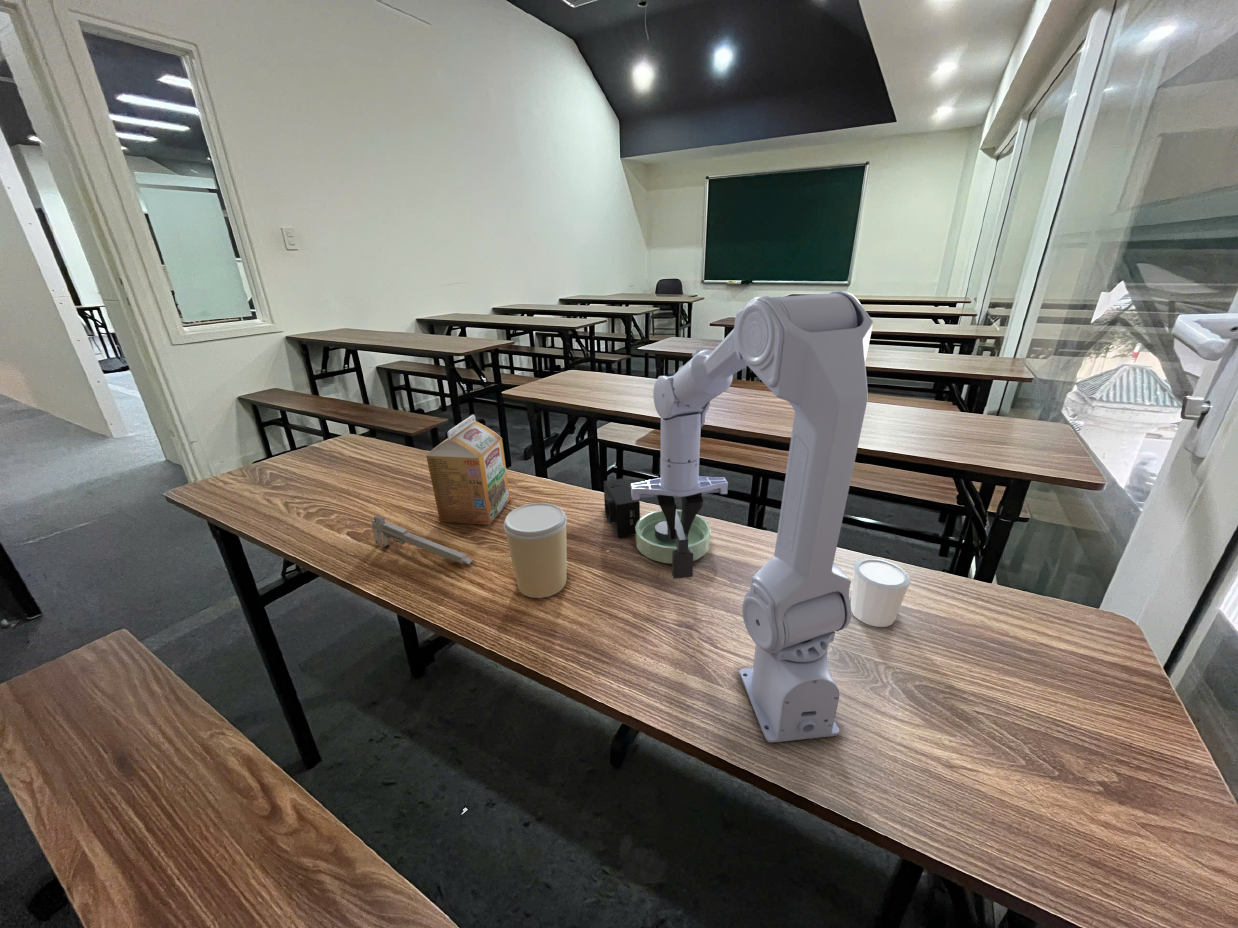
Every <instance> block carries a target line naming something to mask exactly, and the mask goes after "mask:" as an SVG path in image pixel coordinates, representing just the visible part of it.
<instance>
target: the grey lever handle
mask: <svg viewBox="0 0 1238 928" xmlns="http://www.w3.org/2000/svg"><path fill="white" fill-rule="evenodd" d="M655 537H656V538H657V539H658V540H659V541H662V542H668V543H671V542H675V544H676V547H677V549H678V550H673V551H672V564H671V575H672V578H673V579H685V578H693V577H694V573H693V572H694V571H693V570H694V561H693V551H692V549H688V537H687V535H686V533H685V530H684V528H683V525H682V523H681V520H680V518H679V516H678V513H677V511H676V515H675V539H670V536H669V533H668V526H667V521H662V522H659V523H658V524H656V526H655Z"/></svg>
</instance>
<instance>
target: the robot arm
mask: <svg viewBox="0 0 1238 928" xmlns="http://www.w3.org/2000/svg"><path fill="white" fill-rule="evenodd" d="M733 325H734V326H733V329H732V330H731V331H730V332H729V333H728V334H727V336H726V337H724V338H723V339H722V340H721V342H720V343H719V344H718V345H717V346H716V347H715V348H714V349H708V348H707V349H706V348H703V349H696V350H694V351H693V352H692V354H691V355H692V357H691V359H690V360H688V361H687V362H686V363H685V364H684V365H681V366H679V367H678V369H677V370H678V371H676V372H675V373H674V374H673V375H670V376H667V375H659V376H658V377H657V379H656V381H655V382H654V385H653V392H652V393H653V394H652V395H653V396H652V397H653V403H654V407H655V410H656V412H657V414H658V416H659V417H660V455H659V456H660V460H659V461H660V470H659V471H660V475H659V476H660V477H657V478H653V479H648V480H645V481H639V482H632V483H630V488H631V496H632V500H639V501H640V498H641V499H642V498H655V497H656V499H657V503H658V506H659V507H660V510H662V511H663V513H664V515H665V517H666V521H667V526H668V533H669V536H670V539H675V515H676V510H677V508H678V507H677V504H676V501H675V499H676V498H675V497H678V498H679V497H680V500H681V501H680V502H681V503H680V504H681V510H682V514H681V523H682V525H683V528H684V530H685V533H686V535H687V537H688V534H689V530H690V527H691V525H692V522H693V520H694V518H695V516H696V515H698V513H699V511H700V510H701V509H702V508H703V506H704V498H703V496H702V495H703V494H713V493H714V494H715V493H719V494H720V495H728V487H729V486H728V485H729V482H728V480H727V479H726V477H725V476H722V477H718V476H717V477H714V476H701V475H700V452H701V451H700V450H701V429H702V427H703V426H704V425H705V423H706V414H707V412H708V410H709V409H710V405H711V401H713V400H714V399H716V398H717V397H718V396H720V395H721V394H724V393H725V392H726V391H727V390H728V389H729V388H730V386H732V382H733V379H734V375H735V374H736V373H738V372H740V371H742V370H743V369H745V368H746V367H748V368H749V369H750V370H751V371H752V372H753V373H754V374H755V375H756V377H757V378H759V380H760V381H761V382H762V383H763V384H764V385H765V386H766V387H767V389H769V391H770V392H772V394H773V395H774V396H775V397H776V398H777V399H781V400H784V401H786V402H788V403H789V404H790V406H791V408H792V409H793V411H794V416H793V423H792V429H791V435H790V436H791V437H790V443H789V449H788V457H787V463H786V471H785V478H784V484H783V491H782V498H781V506H780V511H779V512H780V513H779V519H778V526H777V532H776V533H777V534H776V540H775V546H774V547H775V548H774V554H773V556H772V557H771V558H770V559H769V560H768V561H767V562H766V563H765V564H764V565H763V566H762V567H761V568H760V569H759V570H758V571H756V572H755V574H754V575H753V576H752V578H751V582H750V583H751V584H750V588H749V590H748V591H747V593H746V594H745V595H744V597H743V601H742V606H741V607H742V608H741V612H742V613H741V614H742V620H743V623H744V626H745V629H746V632H747V633H748V635H749V637H750V638H751V640H752V641H753V642H754V643H755V646H754V647H755V648H754V657H753V664H752V665H753V666H752V667H745V668H741V669H739V677H740V679H741V682H742V684H743V687H744V690H745V692H746V694H747V697H748V699H749V701H750V704H751V707H752V709H753V711H754V714H755V717H756V718H757V719H756V720H757V721H758V724H759V726H760V729H761V732H762V734H763V736H764V739H765V740H766V742H767V743H771V744H772V743H779V742H780V743H781V742H791V741H801V740H811V739H819V738H827V737H828V738H829V737H836V736H839V735H840V728H839V726H838V725H837V723H836V721H835V719H836V715H837V709H838V705H839V699H840V690H839V686H838V685H837V683H836V681H835V679H834V677H833V675H832V673H831V669H830V667H829V660H828V648H829V645H830V644H831V643H832V642H834V640H835V635H836V632H839V631H843V630H845V629H846V628H848V627H849V625H850V623H851V620H852V612H851V599H850V588H851V585H852V580H851V579H850V577H849V576H848V575H847V574H846V573H845V571H844V570H843V569H842V568H841V567H839V566H838V565H837V564H836V563H834V562H835V558H836V553H837V548H838V542H839V538H840V533H841V528H842V524H843V519H844V514H845V510H846V505H847V499H848V495H849V491H850V486H851V482H852V476H853V473H854V466H855V462H856V457H857V452H858V447H859V443H860V439H861V433H862V429H863V428H862V427H863V424H864V419H865V414H866V411H867V410H866V409H867V405H868V399H869V397H868V396H869V392H868V379H867V378H868V377H867V369H866V362H867V361H866V360H867V356H868V351H869V347H870V341H871V335H872V331H873V326H874V320H873V319H872V318H871V316H870V315H869V313H868V312H867V311H866V309H865V307H864V306H863V305H862V304H861V302H860V300H858V298H857V297H856V296H854V295H853V294H852V293H850V292H848V291H844V290H837V291H831V292H828V293H817V294H803V295H801V294H800V295H787V296H786V295H785V296H772V297H771V296H769V295H759V296H755V297H754V298H752V299H751V300H749V301H748V302H747V303H746V304H745V306H744V308H741V309H740V310H738V311H737V312H736V313H735V319H734V324H733Z"/></svg>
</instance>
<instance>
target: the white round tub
mask: <svg viewBox="0 0 1238 928" xmlns="http://www.w3.org/2000/svg"><path fill="white" fill-rule="evenodd" d="M910 584H911V577H910V574H909V573H908V572H907V571H906V570H905V569H904V568H902V567H901V566H899V565H897V564H896V563H893V562H891V561H888V560H886V559H880V558H874V557H873V558H872V557H871V558H868V557H867V558H862V559H859V560H857V561H856V562H855V563H854V565H853V572H852V582H851V597H850V605H851V614H852V615H853V616H854V617H855V618H856V619H857V620H858V621H860V622H862V623H864V624H866V625H868V626H872V627H876V628H887V627H889V626H892V625H893V624H894V622H895V621H896V619H897V616H898V614H899V611H900V609H901V607H902V603H903V601H904V599H905V596H906V594H907V591H908V589H909V586H910Z"/></svg>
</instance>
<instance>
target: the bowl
mask: <svg viewBox="0 0 1238 928" xmlns="http://www.w3.org/2000/svg"><path fill="white" fill-rule="evenodd" d="M676 511H677V513H678V516H679V518H680V520H681V514H682V509H676ZM662 521H666V517H665V515H664V513H663V511H662V509H658V510H654V511H651V512H649V513H647V514H645V515H642V516H640V519H639V520H638V521H637V524H636V526H635V535H634V539H635V540H634V541H635V546H636V549H637V550H638V551H639V552H640V554H642V555H643V556H645V557H646V558H648V559H649V560H652V561H655V562H659V563H662V564H667V565H668V564H670V565H672V551H673V550H678V549H677V547H676V544H675V542H671V543H668V542H662V541H659V540H658V539H657V538H656V537H655V526H656V524H658V523H659V522H662ZM711 529H712V527H711V525H710V523H709V522H708V521H707V520H706V519H705V518H704V517H702V516H701V515H699V514H697V515H696V516H695V518H694V520H693V522H692V525H691V527H690V530H689V534H688V549H692V551H693V562H695V561H697V560H699V559H700V558H702V557H704V556H705V555H706V554H707V552H709V550H710V548H711V547H710V545H711V532H712V531H711Z"/></svg>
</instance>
